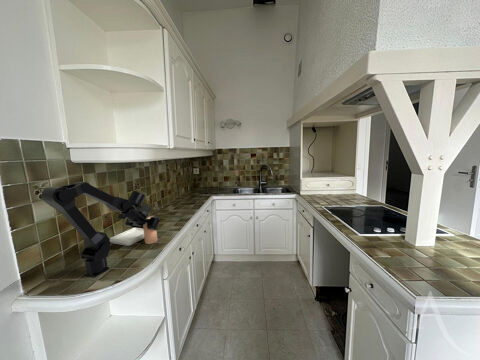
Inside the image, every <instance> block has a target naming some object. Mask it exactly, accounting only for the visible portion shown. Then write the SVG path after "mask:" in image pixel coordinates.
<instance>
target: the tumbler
mask: <svg viewBox="0 0 480 360" xmlns="http://www.w3.org/2000/svg"><path fill="white" fill-rule="evenodd" d="M151 217H155V216H153V215H152V216H151V215H150V216H148V217H147V218H146V219H150V218H151ZM143 230H144V240H143V241H144V243H145V244H147V245H148V244H149V245H151V244H154V243H156V242H158V232H157V230H158V229H157V230H150V229H148V228H147V224H146V223H145V224H144V225H143Z"/></svg>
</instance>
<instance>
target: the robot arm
mask: <svg viewBox="0 0 480 360" xmlns="http://www.w3.org/2000/svg"><path fill="white" fill-rule="evenodd" d="M82 195H84V196H87V197H88V198H91V199H92V200H96V201H98V202H99V203H102V204H104V206H105V207H106V208H108V209H109V210H111V211H112V212H119V213H118V216H117V217H118V220H125V219H126V221H125V222H124V224H125V226H126V227H128V228H129V227H130V228H142V229H143V225H144V224H145V223H146V224H147V228H148V229H150V230H158V225H159V223H160V221H161V218H160V217H158V216H154V217H151V218H150V219H146V218H147V217H149V214H150V212H152V210H153V209H152V207H151V205H150V204H143V202H144V200H145V199H146V195H145V194H144V193H142V192H140V191H139V192H138V191H137V190H132V192H131V194H130V195H129V197H128V198H127V199H126V198H123V197H118V196H114V195H111V194H110V193H108V192H106V191H104V190H102V189H99V188H98V187H96V186H93V185H92V184H90V183H89V182H87V181H77V182H73V183H70V184H65V185H62V186H61V185H60V186H48V187H45V188H44V189H43V190H42V191H41V196H40V198H41V199H42V201H43V202H44V203H46V204H47V205H49V206H50V207H51V208H52V209H54V210H57V211H59V213H61V214H62V215H63V216H64V217H65V219H66V220H67V221H68V222H69V223H70V224H71V226H72V227H73V228H74V229H75V231H77V232H78V233H79V235H80V236H81V237H82V239H83V245H84V249H82V252H81V253H80V258H81V259H82V260H84V265H85V272H84V273H83V275H84V276H88V277H92V278H96V277H98V276H99V275H101V274H104V273H105V272H106V271H108V270H109V269H111V268H110V267H109V266H108V265H109V264H108V258H107V257H109V253H110V248H111V245H112V243H111V242H110V238H111V237H108V235H107V233H106V232H104V231H96V229H95V228H94V227H93V226H92V224H91V223H90V222H89V220H88V219H87V218H86V216H85V215H84V214H83V212H81V211H80V209H79V208H78V207H77V205H76V198H77V197H80V196H82Z"/></svg>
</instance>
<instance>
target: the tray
mask: <svg viewBox="0 0 480 360" xmlns="http://www.w3.org/2000/svg"><path fill="white" fill-rule="evenodd" d="M109 238H110V242H111V244H115V245H121V246H127V247H128V246H131V245H134V244H136V243H138V242H139V241H141V240H143V239H144V230H143V229H142V228H133V227H131V228H130V229H127V230H126V231H123V232H121V233H119V234H116V235H114V236H111V237H109Z"/></svg>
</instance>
